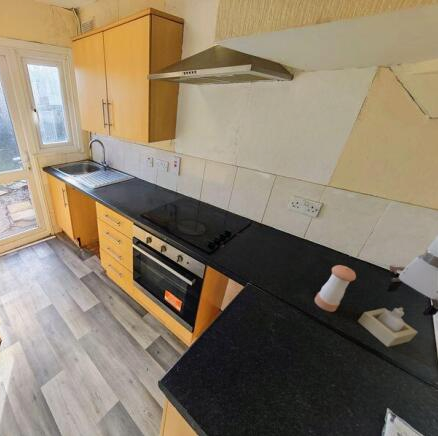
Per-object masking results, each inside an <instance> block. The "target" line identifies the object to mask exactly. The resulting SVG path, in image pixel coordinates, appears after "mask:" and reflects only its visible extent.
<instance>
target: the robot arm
mask: <svg viewBox="0 0 438 436" xmlns="http://www.w3.org/2000/svg"><path fill="white" fill-rule="evenodd" d="M398 271H400V274H399V273H398ZM389 275H390V278H391V279H390V281H391V282H390V283H389V284H388V286H387V292H389V293H392V292H396V291H397V290H398V289H399V287H400V286H401V285H402V284H403V283H404V284H405V285H407V286H408V287H410V288H412V289H414V290H415V291H416V292H419V293H420V294H422V295H423V296H425V297H427V298H429V299H430V301H431V303H432V304H430V305H428V306H427V308H425V310H424V311H423V312H422V315H423V316H425V317H426V316H434V315H437V313H438V235H436V237H435V238H434V240H432V242H431V244H430V245H429V246H428V248H427V249H426V250H425V252H424V253H423V254H420V255H418V256H416V257H415V258H414V259H413V260H412V261H411V262H410V263H408V264H407V266H402V265H395V264H392V265H389Z"/></svg>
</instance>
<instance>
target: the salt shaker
mask: <svg viewBox="0 0 438 436" xmlns="http://www.w3.org/2000/svg"><path fill="white" fill-rule="evenodd" d="M356 278H357V275H356V272H355V270H353V269H352V268H350V267H348V266H346V265H341V264H336V265H334V266H333V267H332V268H331V275H330V277H329V279H328V280H327V281H326V283H325V284H324V285H322V287H321V289H320V291H318V292H317V293H316V296H315V297H314V303H315V304H316V305H317V306H318V307H319V308H320V309H322V310H324V311H327V312H331V313H332V312H335V311H336V310H337V309H338V308H339V306H340V304H341V301H342V299H343V297H344V296H345V293H346V289H347V288H348V286H349V284H350V282H353V281H355V280H356Z"/></svg>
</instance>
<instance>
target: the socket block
mask: <svg viewBox="0 0 438 436" xmlns="http://www.w3.org/2000/svg"><path fill="white" fill-rule="evenodd" d="M384 311H389V310H388V309H387V308H385V307H383V308H378V309H374V310H369V311H364V312H363V313H362V314H361V316H360V317H359V319H358V320H357V322H358V324H360V325H361V326H362V327H363V328H365V329H366V330H367V331H368V332H369V333H370V334H372V335H373V336H374V337H375V338H376V339H377V340H378V341H380V342H381V343H382V344H383V345H384V346H386V348H389V347H393V346H396V345H401V344H404V343H409V342H410V341H411V340H412V339H413V338H415V336H416V335H417V334H418V331H417V330H416V329H414V328H413V327H411V326H410V325H408V324H407V323H406V322H405V321H404V326H403V327H402V328H401V329H400V330H399V331H398V332H396V333H393V332H392V331H391V330H390V329H388V328H387V327H386V326H385V325H383V324H382V323H381V322H380V321H378V320H377V319H378V317H379V316H380V315H381V314H382V313H383V312H384Z"/></svg>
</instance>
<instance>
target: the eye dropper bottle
mask: <svg viewBox="0 0 438 436" xmlns="http://www.w3.org/2000/svg"><path fill="white" fill-rule="evenodd" d="M403 310H404V308H403V307H402V306H401V307H399V308H397V307H394V308H393V310H392V311H391V310H388V311H384V312H383V313H382V314H381V315H380V316H379V317H378V319H377V320H378V321H380V322H381V323H382V324H383V325H385V326H386V327H387V328H388V329H390V330H391V331H392V332H393V333H396V332H398V331H399V330H400V329H401V328H402V327H403V326H404V322H405V321H404V320H403V318H402V317H403V316H404V315H405V312H404V311H403Z"/></svg>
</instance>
